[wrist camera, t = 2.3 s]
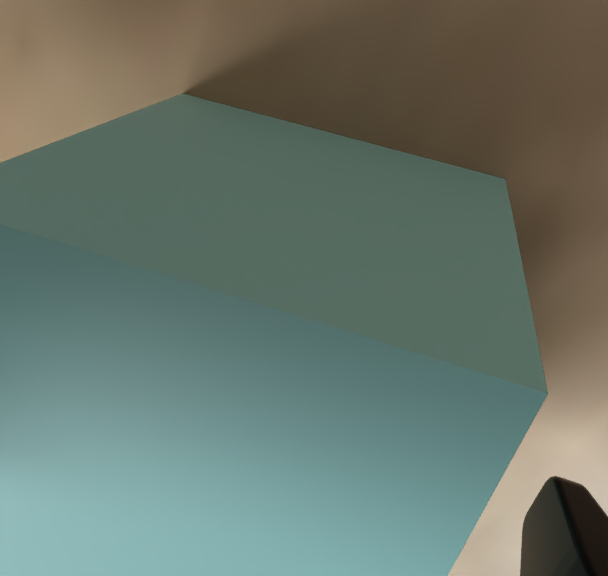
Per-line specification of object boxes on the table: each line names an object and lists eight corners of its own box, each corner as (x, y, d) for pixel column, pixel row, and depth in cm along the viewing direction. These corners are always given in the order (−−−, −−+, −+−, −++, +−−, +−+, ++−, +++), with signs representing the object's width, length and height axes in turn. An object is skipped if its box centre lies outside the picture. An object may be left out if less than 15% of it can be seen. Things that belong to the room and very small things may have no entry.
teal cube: (164, 346, 13) (-21, 567, 8) (184, 92, 10) (-89, 197, 5) (406, 426, 13) (366, 721, 8) (505, 178, 10) (547, 393, 5)
